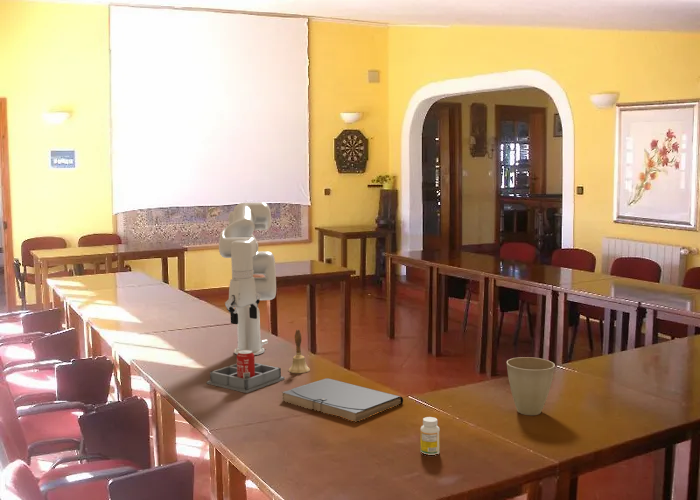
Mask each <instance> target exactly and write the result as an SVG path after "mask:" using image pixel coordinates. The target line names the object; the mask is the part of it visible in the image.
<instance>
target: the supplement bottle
mask: <svg viewBox="0 0 700 500" xmlns="http://www.w3.org/2000/svg"><path fill="white" fill-rule="evenodd" d="M440 431H441V429H440V426H438V419H437V418H436V417H432V416H426V417H423V418H422V425H421V426H420V438H419V441H420V444H419V445H420V453H421V452H422V453H424V454H428V455H435V454H438V455H439V454H440V450H441V444H440V443H441V442H440V441H441V436H440V435H441V432H440ZM422 453H421V454H422ZM435 456H436V455H435Z"/></svg>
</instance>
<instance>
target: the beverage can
mask: <svg viewBox="0 0 700 500" xmlns="http://www.w3.org/2000/svg"><path fill="white" fill-rule="evenodd" d="M255 363H256V362H255V355H254V354H253V353H252V350H241V351H239V352H238V354H236V364H237V377H239V378H244V379H248V378H250V377H253V376H255Z"/></svg>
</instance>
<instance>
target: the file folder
mask: <svg viewBox="0 0 700 500" xmlns="http://www.w3.org/2000/svg"><path fill="white" fill-rule="evenodd" d="M281 393H282V402H283V401H285V402H284V403H287V402H288V403H287V404H290V403H291V404H290V405H294V406H297V405H298V406H297V407H300V406H301V408H303V407H304V409H307V408H308V410H312V409H314V410H313V411H316V410H317V411H316V412H319V411H321V412H320V413H322V412H323V413H322V414H325V413H328V414H327V415H329V414H334V415H338V416H342V417H344V418H347V419H349V420H353V421H355V422H356V421H359V420H361V419H364V418H367V417H369V416H370V415H373V414H375V413H377V412H380V411H383V410H385V409H388V408H390V407H393V406H396V405H398V404H400V403H402V404H404V398H403V397H402V396H400V395H396V394H393V393H389V392H386V391H385V392H384V391H382V390H381V391H380V390H377V389H373V388H368V387H364V386H360V385H357V384H351V383H348V382H343V381H341V380H337V379H332V378H329V377H328V378H322V379H320V380H317V381H314V382H309V383H306V384H304V385H299V386H296V387H294V388H291V389H288V390H285V391H281ZM398 406H399V405H398ZM396 407H397V406H396ZM344 418H343V419H344ZM367 419H368V418H367ZM349 420H348V421H349ZM364 420H365V419H364ZM355 422H354V423H355ZM359 422H360V421H359Z"/></svg>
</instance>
